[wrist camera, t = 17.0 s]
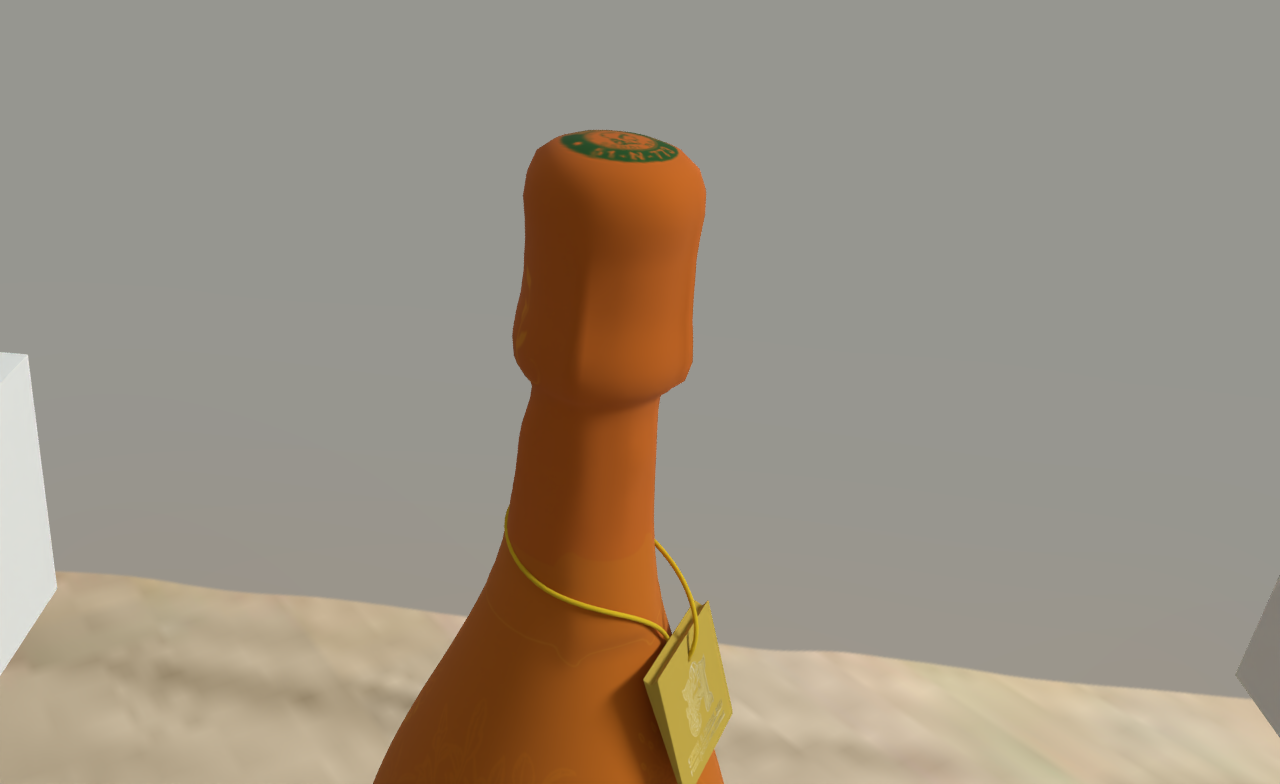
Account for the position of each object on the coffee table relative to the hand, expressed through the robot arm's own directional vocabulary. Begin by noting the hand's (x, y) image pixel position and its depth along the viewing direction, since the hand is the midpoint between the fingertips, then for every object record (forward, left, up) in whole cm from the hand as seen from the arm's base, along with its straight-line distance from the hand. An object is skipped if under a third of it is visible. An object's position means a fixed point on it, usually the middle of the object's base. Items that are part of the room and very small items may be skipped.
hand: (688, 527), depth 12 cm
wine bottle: (-6, +9, -29) cm, 31 cm away
